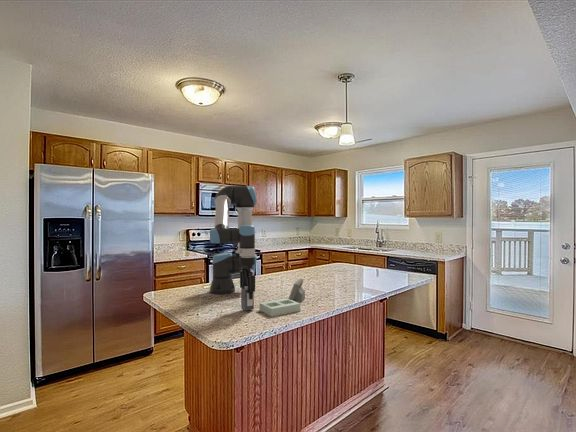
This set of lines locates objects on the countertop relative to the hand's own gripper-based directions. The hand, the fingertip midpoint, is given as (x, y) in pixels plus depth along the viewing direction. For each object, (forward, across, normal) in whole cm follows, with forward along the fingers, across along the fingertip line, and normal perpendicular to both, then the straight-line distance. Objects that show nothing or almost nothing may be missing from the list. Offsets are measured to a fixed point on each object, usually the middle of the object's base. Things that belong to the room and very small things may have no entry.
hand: (247, 304), depth 158 cm
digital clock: (+3, -3, +31) cm, 31 cm away
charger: (+2, 0, 0) cm, 2 cm away
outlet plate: (+3, +9, +13) cm, 16 cm away
